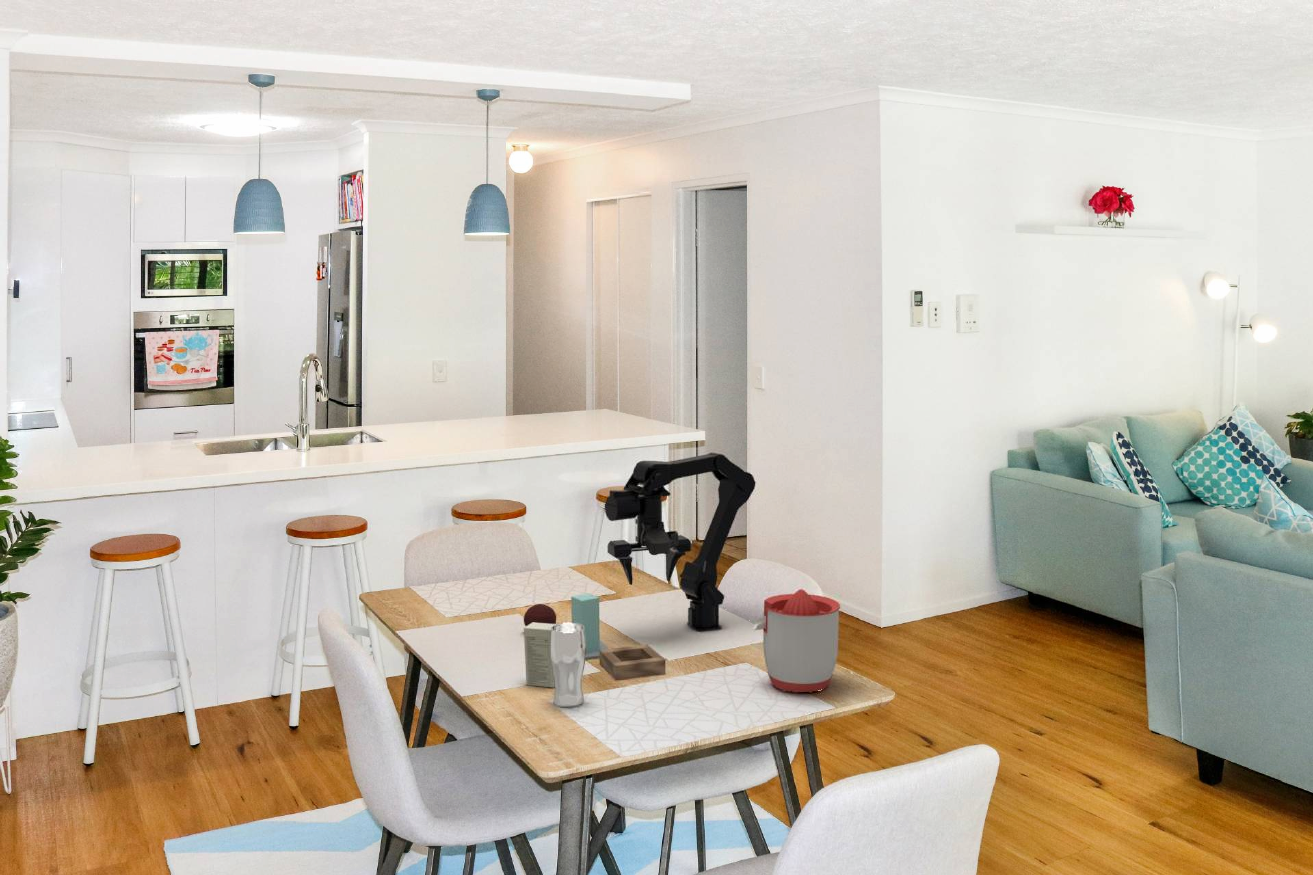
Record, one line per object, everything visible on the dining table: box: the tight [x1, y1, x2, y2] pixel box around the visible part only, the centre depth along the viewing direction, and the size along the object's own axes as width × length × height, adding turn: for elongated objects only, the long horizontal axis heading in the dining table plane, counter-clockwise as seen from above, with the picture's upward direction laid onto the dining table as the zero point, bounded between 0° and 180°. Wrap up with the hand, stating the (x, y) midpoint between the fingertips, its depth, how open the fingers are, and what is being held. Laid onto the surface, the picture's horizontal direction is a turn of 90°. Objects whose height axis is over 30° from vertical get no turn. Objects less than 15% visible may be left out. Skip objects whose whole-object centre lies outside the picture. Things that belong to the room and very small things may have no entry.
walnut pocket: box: [599, 644, 666, 681], centre depth 235 cm, size 11×11×3 cm
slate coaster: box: [585, 639, 610, 661], centre depth 246 cm, size 10×10×1 cm
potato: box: [523, 603, 557, 627], centre depth 260 cm, size 7×8×7 cm
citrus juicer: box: [753, 588, 841, 693], centre depth 224 cm, size 16×17×20 cm
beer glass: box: [550, 622, 586, 708], centre depth 215 cm, size 7×7×15 cm
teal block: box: [570, 593, 601, 653], centre depth 245 cm, size 4×4×12 cm
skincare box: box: [523, 622, 557, 688], centre depth 226 cm, size 6×4×12 cm
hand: (649, 582), depth 255 cm, fingers open, 9 cm apart
